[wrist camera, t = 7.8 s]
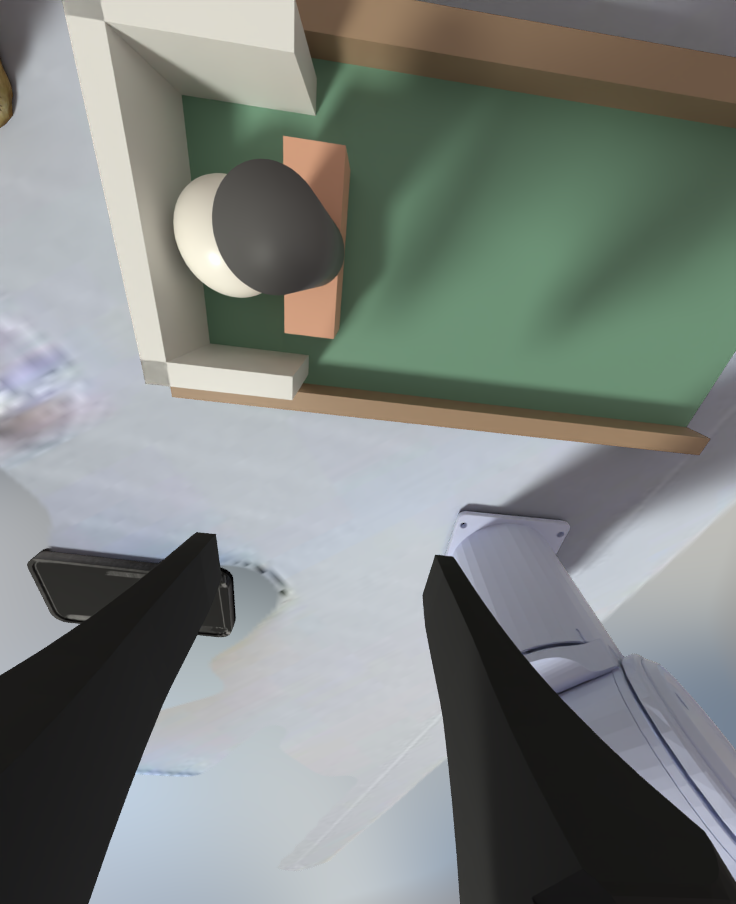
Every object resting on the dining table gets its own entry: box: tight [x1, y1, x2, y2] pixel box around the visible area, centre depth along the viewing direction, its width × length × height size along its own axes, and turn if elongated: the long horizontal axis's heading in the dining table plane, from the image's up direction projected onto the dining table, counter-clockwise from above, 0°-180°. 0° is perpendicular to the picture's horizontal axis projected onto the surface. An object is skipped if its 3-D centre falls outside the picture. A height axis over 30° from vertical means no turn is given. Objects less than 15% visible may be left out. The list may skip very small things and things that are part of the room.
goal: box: [62, 0, 317, 400], centre depth 13 cm, size 11×6×4 cm, turn 173°
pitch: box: [170, 0, 736, 455], centre depth 15 cm, size 14×28×2 cm, turn 83°
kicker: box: [212, 136, 350, 339], centre depth 11 cm, size 6×2×8 cm, turn 173°
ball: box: [173, 173, 261, 298], centre depth 13 cm, size 4×4×4 cm
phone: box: [27, 548, 236, 637], centre depth 27 cm, size 8×1×15 cm
